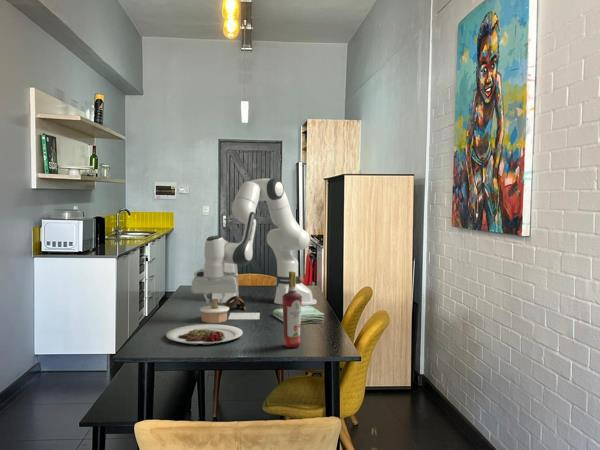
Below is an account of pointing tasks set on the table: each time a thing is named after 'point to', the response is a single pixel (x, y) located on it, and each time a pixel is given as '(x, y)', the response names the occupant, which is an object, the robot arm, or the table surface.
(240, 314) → the mat
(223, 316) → the bowl
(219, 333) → the plated food
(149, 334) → the table surface
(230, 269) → the milk
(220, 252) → the robot arm
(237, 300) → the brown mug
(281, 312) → the towel
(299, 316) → the liquor
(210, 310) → the lid
